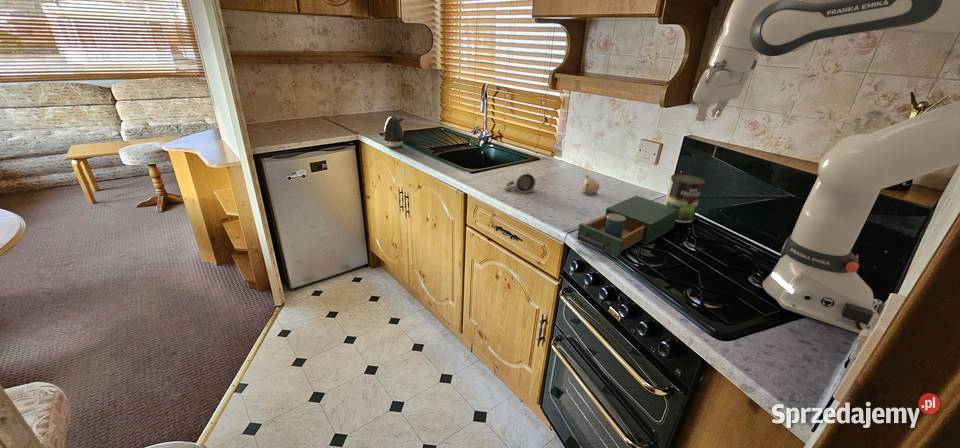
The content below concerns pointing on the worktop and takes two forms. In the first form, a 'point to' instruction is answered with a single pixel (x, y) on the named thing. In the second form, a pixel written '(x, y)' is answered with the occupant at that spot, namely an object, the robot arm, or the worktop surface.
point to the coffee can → (684, 196)
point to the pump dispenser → (393, 132)
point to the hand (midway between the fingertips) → (707, 118)
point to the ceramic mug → (522, 182)
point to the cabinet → (647, 216)
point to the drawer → (609, 243)
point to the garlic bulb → (590, 185)
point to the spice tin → (615, 225)
